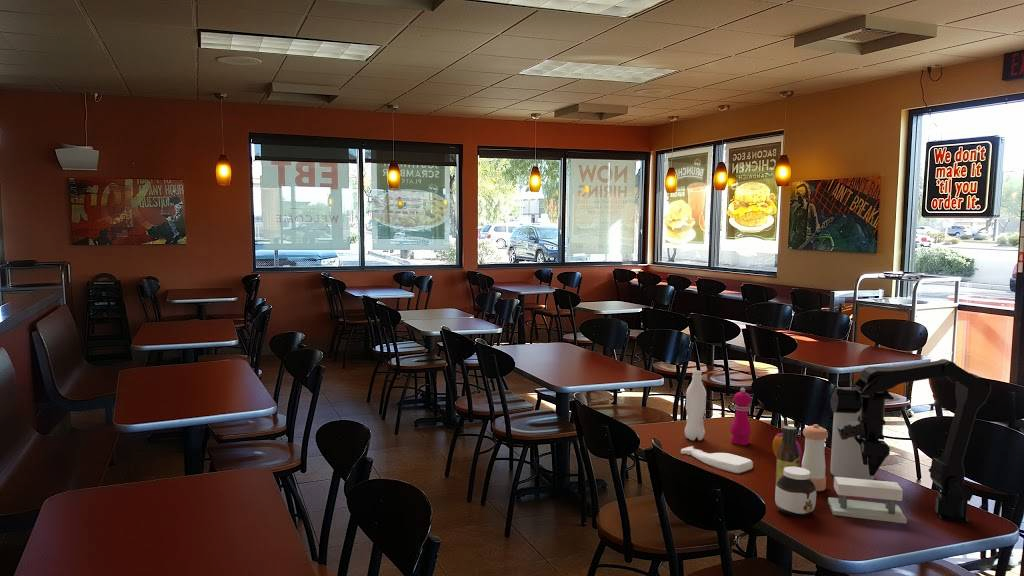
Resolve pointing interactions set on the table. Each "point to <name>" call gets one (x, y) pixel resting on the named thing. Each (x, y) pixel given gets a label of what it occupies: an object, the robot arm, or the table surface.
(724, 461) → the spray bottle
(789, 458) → the sauce bottle
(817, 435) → the pepper shaker
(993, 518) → the table surface
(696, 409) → the water bottle
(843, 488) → the shelf board
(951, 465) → the robot arm
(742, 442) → the pepper mill
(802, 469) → the spread jar
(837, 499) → the peg stand
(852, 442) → the cylinder vase
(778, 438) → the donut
